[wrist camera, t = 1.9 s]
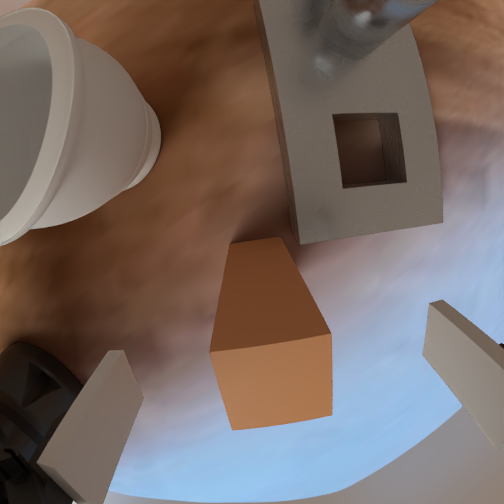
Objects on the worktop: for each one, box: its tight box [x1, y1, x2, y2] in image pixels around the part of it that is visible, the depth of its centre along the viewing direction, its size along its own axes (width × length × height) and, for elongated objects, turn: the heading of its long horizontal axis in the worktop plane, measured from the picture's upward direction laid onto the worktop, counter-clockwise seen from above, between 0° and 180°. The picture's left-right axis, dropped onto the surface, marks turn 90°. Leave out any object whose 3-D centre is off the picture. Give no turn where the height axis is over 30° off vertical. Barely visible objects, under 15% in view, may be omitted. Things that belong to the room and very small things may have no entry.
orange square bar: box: [209, 236, 332, 430], centre depth 17 cm, size 4×4×15 cm
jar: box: [0, 7, 161, 246], centre depth 14 cm, size 11×10×15 cm
